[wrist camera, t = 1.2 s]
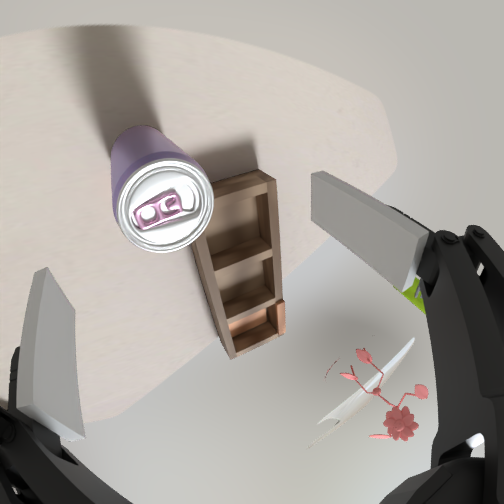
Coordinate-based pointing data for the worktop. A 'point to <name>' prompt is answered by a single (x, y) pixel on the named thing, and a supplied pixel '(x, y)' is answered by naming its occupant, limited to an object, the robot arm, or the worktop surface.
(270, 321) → the can caddy
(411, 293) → the soap dispenser
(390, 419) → the pink flower branch
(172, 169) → the beverage can
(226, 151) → the worktop surface
